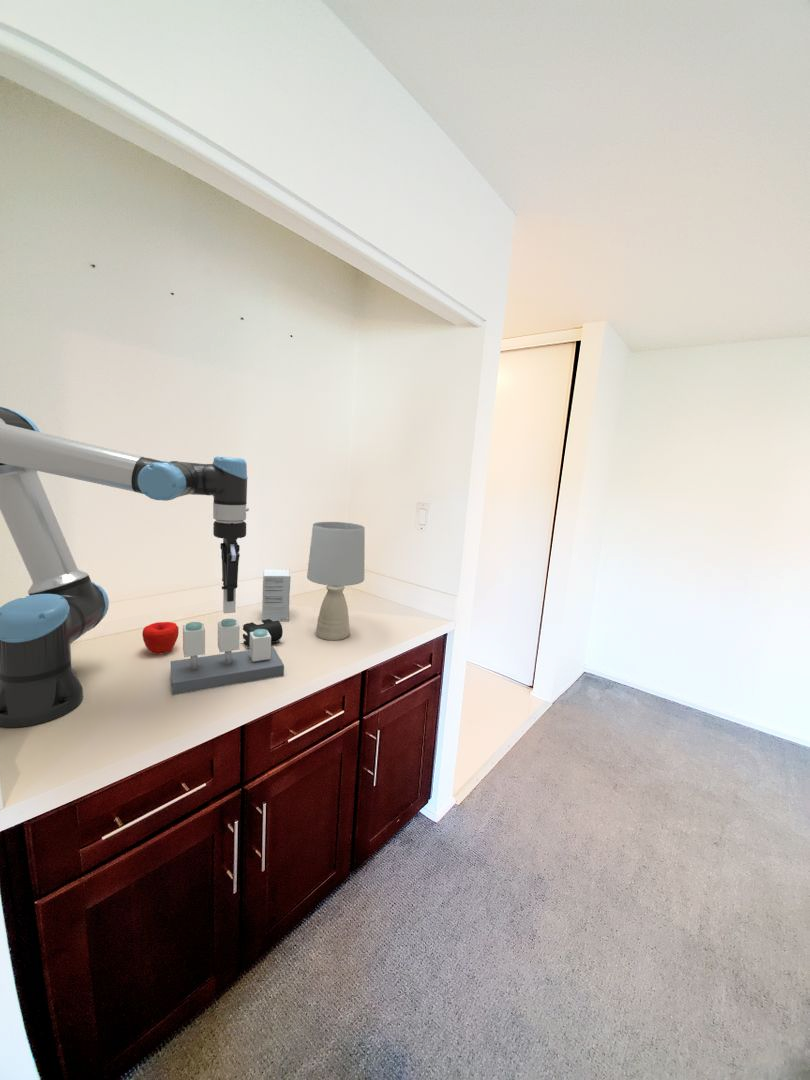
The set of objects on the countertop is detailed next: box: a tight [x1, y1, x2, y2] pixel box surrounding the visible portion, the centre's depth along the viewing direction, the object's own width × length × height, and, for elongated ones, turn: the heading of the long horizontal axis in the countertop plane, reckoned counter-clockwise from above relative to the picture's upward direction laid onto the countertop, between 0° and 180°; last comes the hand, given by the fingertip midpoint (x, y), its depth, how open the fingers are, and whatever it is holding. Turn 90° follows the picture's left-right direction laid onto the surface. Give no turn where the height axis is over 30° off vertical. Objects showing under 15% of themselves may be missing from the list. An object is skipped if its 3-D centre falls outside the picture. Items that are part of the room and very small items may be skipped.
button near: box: [182, 621, 206, 658], centre depth 105 cm, size 5×5×7 cm
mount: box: [170, 646, 285, 696], centre depth 111 cm, size 26×12×8 cm, turn 120°
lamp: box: [306, 521, 366, 641], centre depth 139 cm, size 19×19×37 cm
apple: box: [141, 621, 179, 655], centre depth 120 cm, size 9×9×8 cm
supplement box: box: [261, 568, 291, 622], centre depth 152 cm, size 10×9×17 cm
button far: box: [248, 629, 272, 662], centre depth 114 cm, size 5×5×7 cm
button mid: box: [217, 618, 241, 653], centre depth 109 cm, size 5×5×7 cm
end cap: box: [242, 619, 284, 648], centre depth 130 cm, size 10×7×7 cm
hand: (229, 611), depth 108 cm, fingers closed
